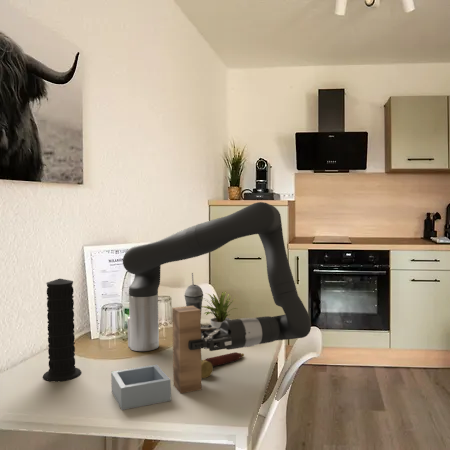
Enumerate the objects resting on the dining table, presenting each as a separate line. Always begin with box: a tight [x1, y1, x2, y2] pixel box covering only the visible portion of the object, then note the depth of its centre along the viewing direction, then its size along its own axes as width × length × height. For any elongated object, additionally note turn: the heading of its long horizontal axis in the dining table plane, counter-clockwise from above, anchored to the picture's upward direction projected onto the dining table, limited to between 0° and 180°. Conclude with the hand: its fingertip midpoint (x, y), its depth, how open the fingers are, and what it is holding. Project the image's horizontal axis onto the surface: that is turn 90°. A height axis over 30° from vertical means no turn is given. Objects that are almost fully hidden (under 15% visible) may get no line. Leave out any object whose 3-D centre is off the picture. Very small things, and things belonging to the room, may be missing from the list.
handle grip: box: [42, 278, 82, 383], centre depth 127 cm, size 10×26×10 cm
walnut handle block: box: [171, 305, 202, 394], centre depth 117 cm, size 6×6×20 cm
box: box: [110, 364, 172, 411], centre depth 113 cm, size 12×12×5 cm
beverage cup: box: [184, 272, 204, 312], centre depth 178 cm, size 7×7×20 cm
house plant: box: [201, 291, 238, 328], centre depth 163 cm, size 14×14×16 cm
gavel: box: [201, 351, 245, 379], centre depth 134 cm, size 21×5×10 cm
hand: (183, 340), depth 117 cm, fingers open, 8 cm apart
